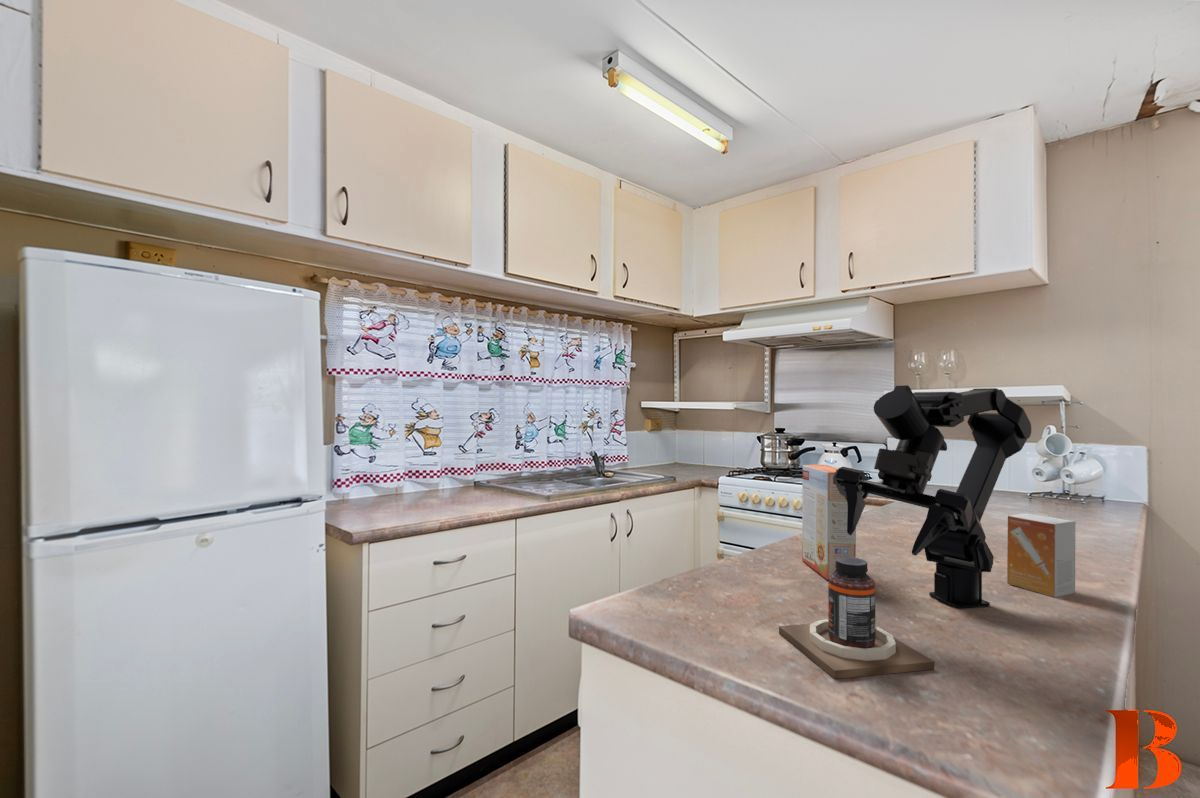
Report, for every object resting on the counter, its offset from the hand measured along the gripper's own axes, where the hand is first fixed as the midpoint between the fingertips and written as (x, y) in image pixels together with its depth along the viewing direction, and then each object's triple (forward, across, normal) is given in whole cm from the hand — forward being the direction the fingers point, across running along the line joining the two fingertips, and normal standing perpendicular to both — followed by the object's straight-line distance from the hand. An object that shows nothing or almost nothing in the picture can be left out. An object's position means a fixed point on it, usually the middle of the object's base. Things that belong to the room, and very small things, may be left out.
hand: (879, 543), depth 84 cm
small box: (-16, +15, +40) cm, 46 cm away
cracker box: (-2, -17, +29) cm, 34 cm away
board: (+16, +1, +1) cm, 16 cm away
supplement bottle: (+15, +1, 0) cm, 15 cm away
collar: (+16, +1, +1) cm, 16 cm away
